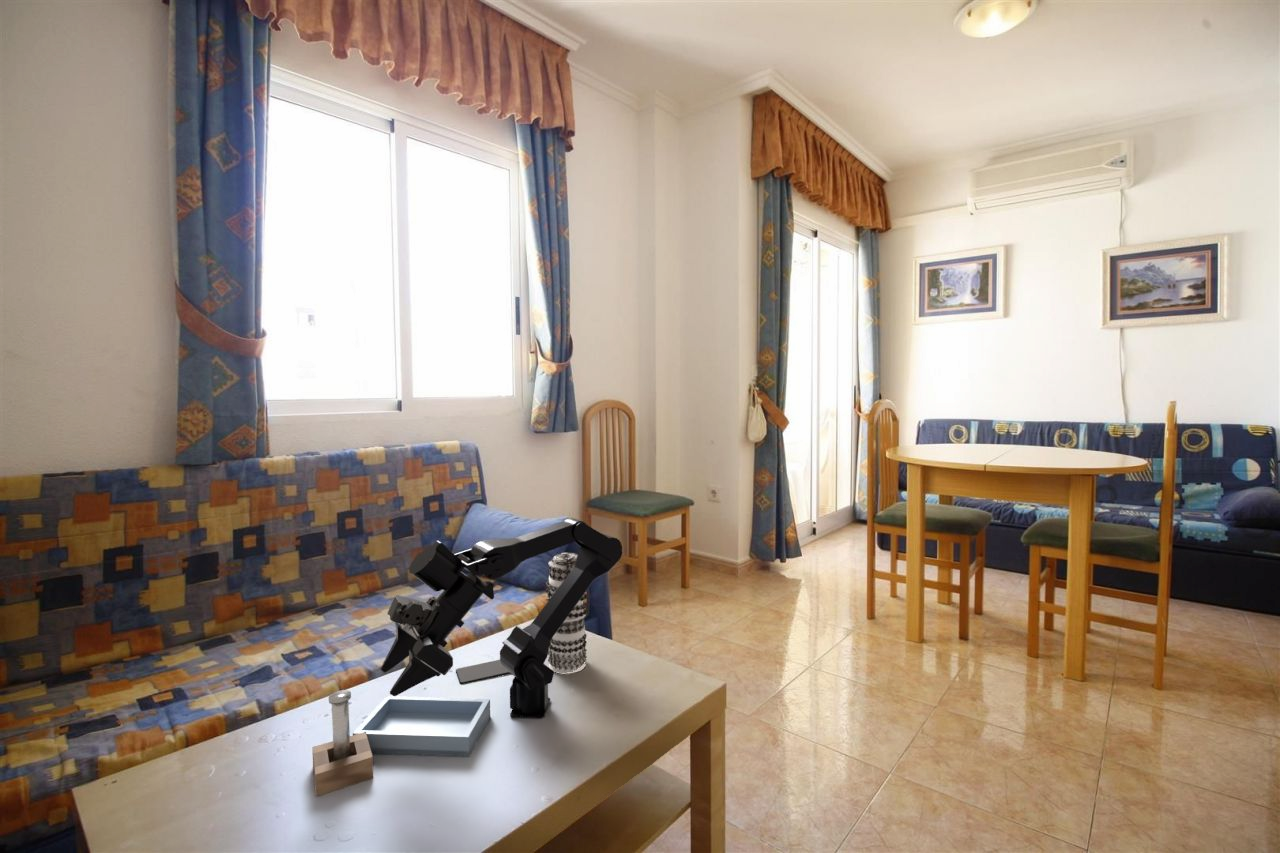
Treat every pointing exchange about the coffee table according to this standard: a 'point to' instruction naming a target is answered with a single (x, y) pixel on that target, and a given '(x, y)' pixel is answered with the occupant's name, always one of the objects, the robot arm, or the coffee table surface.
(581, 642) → the decorative candle
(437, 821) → the coffee table surface
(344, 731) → the metal pin
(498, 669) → the smartphone
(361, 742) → the pin block
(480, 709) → the tray
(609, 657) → the coffee table surface
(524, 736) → the coffee table surface
